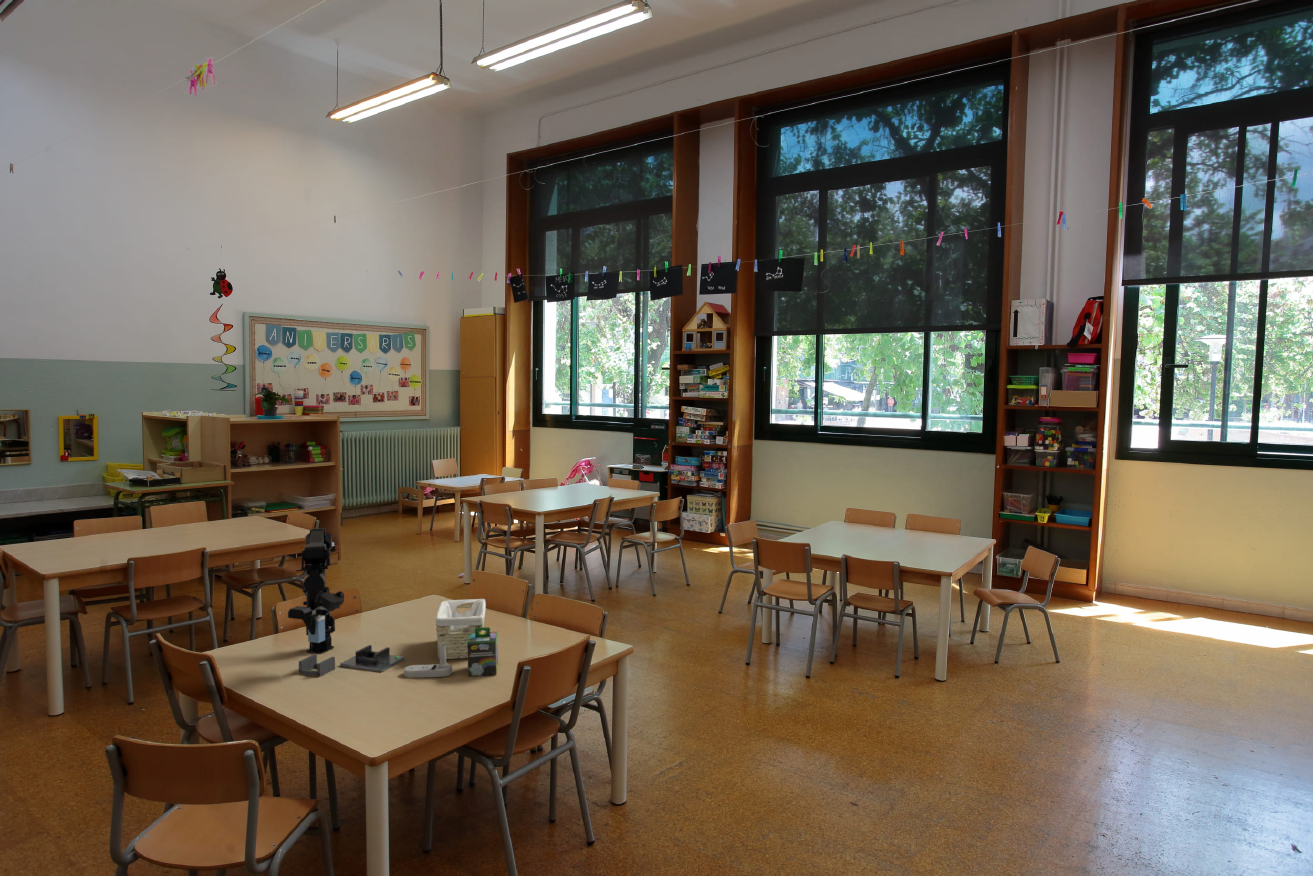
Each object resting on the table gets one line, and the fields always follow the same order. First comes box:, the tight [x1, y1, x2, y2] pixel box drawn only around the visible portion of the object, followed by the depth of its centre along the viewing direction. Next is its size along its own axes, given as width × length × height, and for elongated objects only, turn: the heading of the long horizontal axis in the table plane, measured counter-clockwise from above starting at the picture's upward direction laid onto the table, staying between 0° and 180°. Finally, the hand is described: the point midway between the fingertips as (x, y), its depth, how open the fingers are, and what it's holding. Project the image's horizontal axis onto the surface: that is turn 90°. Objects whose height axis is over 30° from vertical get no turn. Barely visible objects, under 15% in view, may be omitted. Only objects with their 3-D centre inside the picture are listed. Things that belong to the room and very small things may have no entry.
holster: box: [298, 653, 336, 678], centre depth 248 cm, size 8×7×4 cm
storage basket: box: [435, 598, 487, 660], centre depth 271 cm, size 24×16×15 cm
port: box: [339, 644, 405, 673], centre depth 256 cm, size 16×12×4 cm
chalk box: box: [467, 626, 499, 677], centre depth 250 cm, size 9×9×15 cm
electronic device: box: [403, 644, 453, 679], centre depth 247 cm, size 5×10×15 cm
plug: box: [307, 615, 325, 643], centre depth 247 cm, size 4×3×8 cm
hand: (316, 633), depth 247 cm, fingers closed on plug, 3 cm apart
